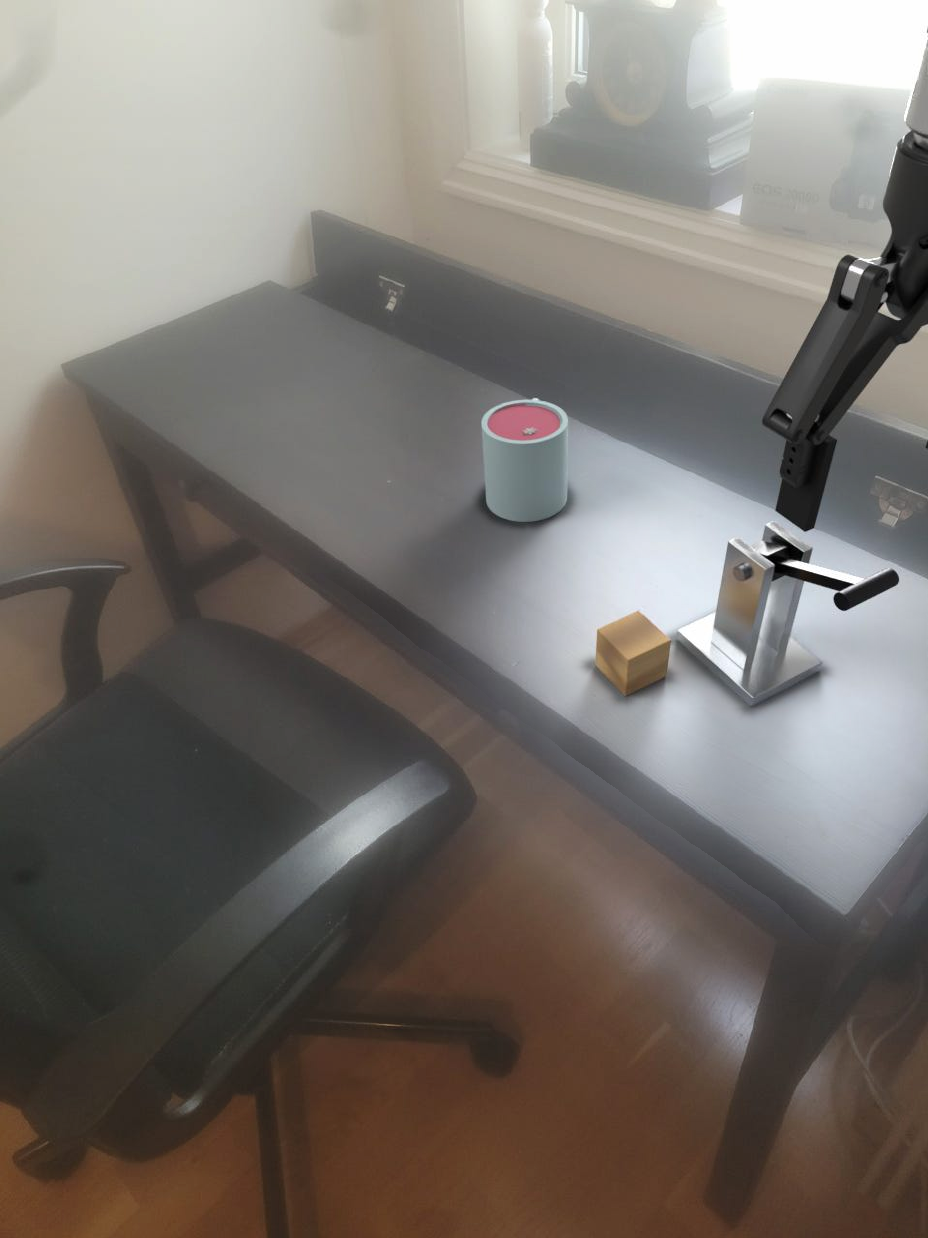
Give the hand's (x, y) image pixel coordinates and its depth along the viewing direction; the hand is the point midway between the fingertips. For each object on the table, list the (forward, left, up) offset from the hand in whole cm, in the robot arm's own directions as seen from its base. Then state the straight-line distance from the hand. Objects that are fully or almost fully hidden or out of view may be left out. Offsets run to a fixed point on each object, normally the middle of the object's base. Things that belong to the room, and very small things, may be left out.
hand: (872, 486), depth 58 cm
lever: (+3, -1, -11) cm, 12 cm away
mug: (+42, +1, -23) cm, 48 cm away
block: (+12, +9, -23) cm, 28 cm away
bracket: (+8, -1, -23) cm, 24 cm away
